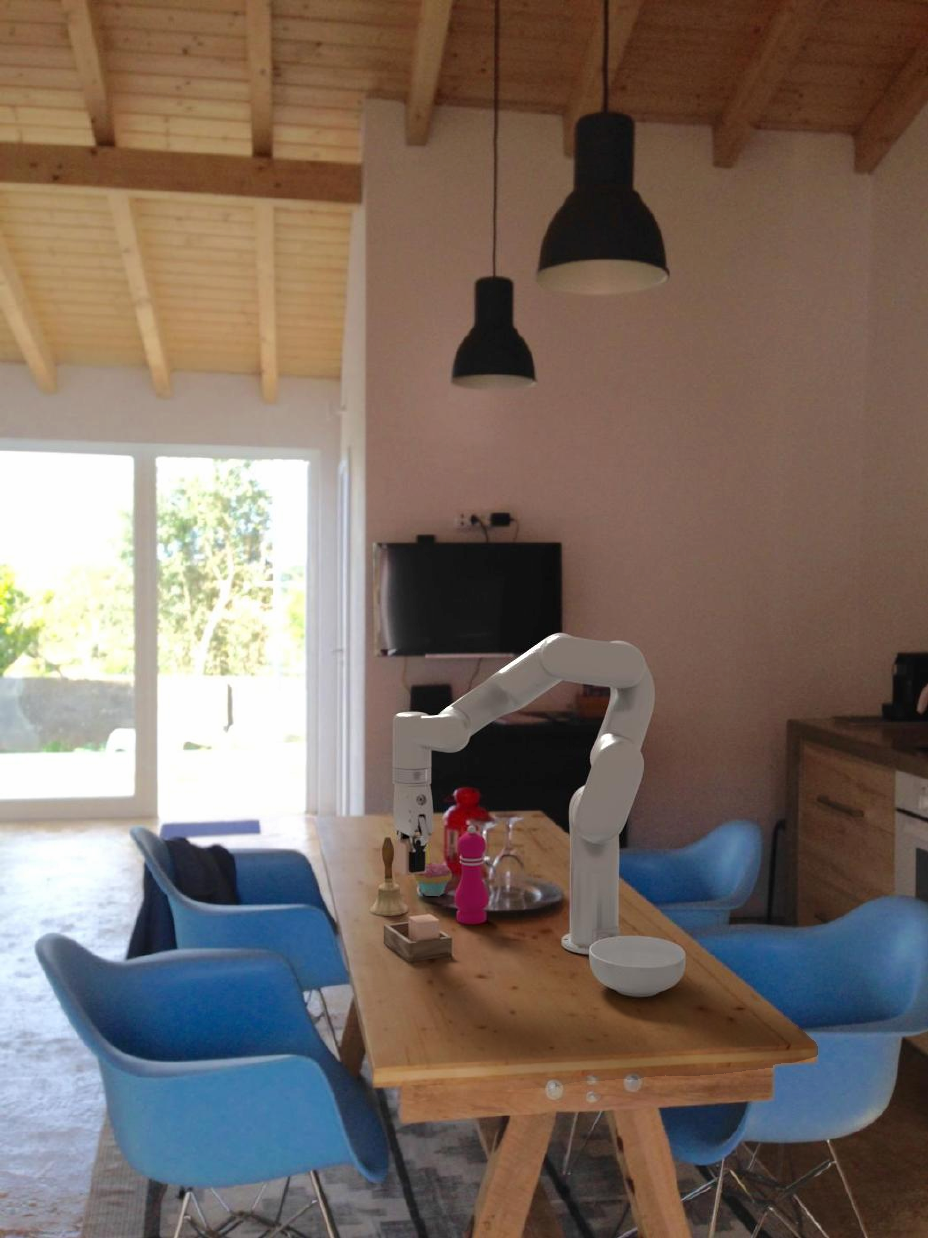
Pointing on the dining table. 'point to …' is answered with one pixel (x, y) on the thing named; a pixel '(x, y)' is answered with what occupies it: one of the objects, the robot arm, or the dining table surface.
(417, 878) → the cupcake
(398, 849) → the pale pink block
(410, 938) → the pale pink block
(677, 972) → the cereal bowl
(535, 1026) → the dining table surface
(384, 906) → the hand bell
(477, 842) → the pepper mill
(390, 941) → the walnut crate
